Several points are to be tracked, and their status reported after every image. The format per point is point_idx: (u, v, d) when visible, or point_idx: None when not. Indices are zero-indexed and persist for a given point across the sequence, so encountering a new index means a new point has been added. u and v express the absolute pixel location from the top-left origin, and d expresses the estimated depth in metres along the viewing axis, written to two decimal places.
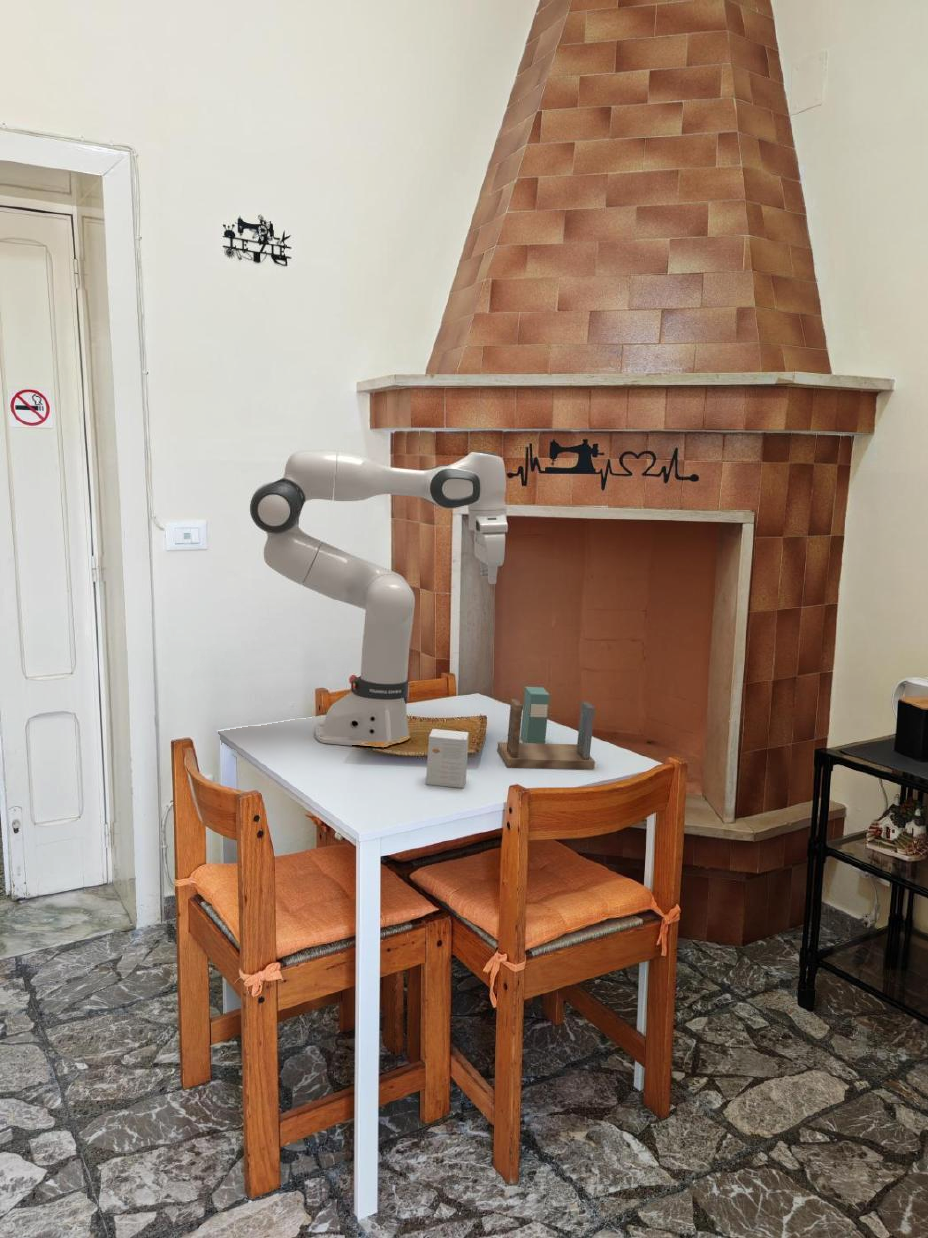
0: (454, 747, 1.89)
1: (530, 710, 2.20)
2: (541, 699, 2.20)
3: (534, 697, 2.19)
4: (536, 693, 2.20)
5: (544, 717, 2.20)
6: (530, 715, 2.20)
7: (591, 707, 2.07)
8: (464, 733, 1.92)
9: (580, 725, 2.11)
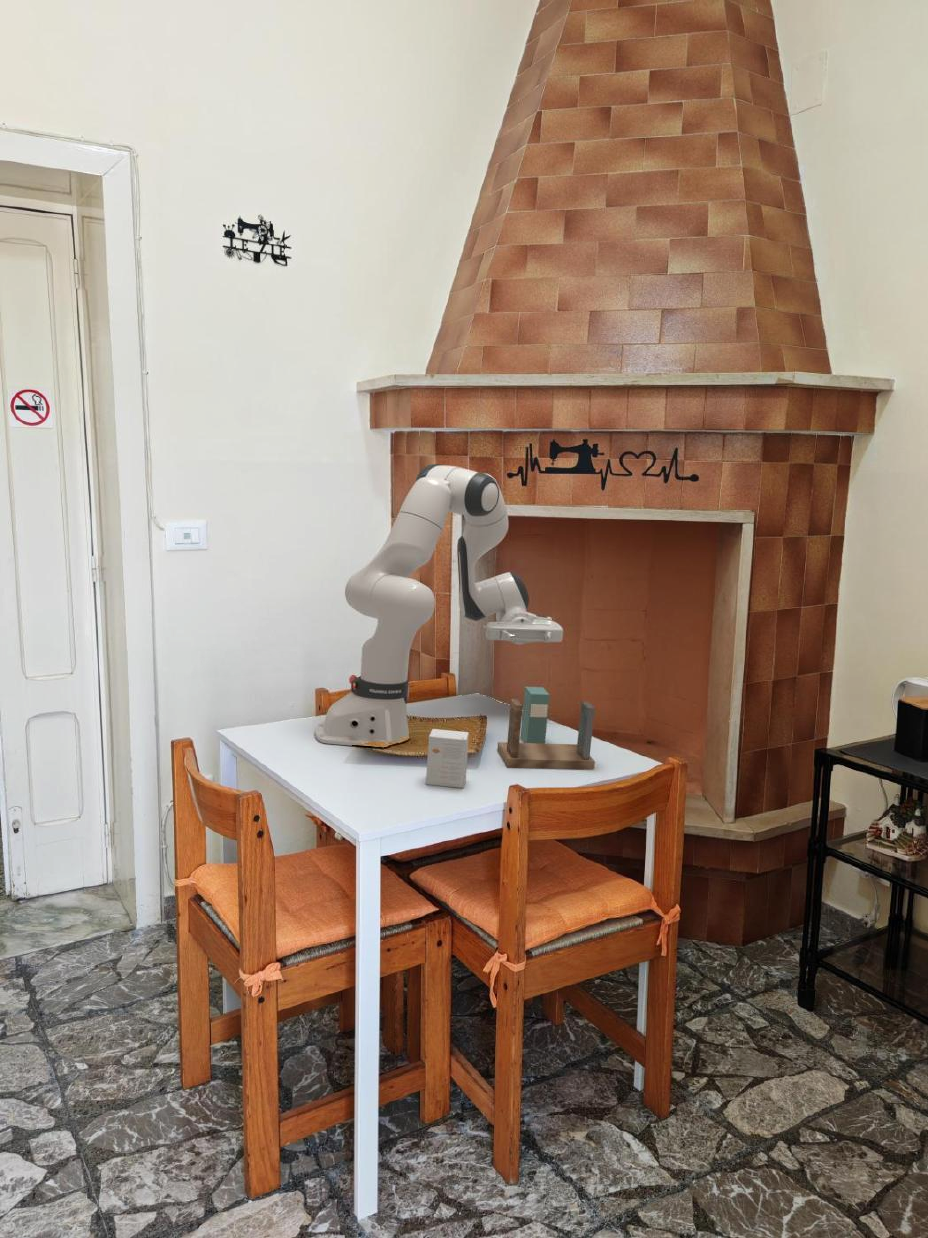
0: (454, 747, 1.89)
1: (530, 710, 2.20)
2: (541, 699, 2.20)
3: (534, 697, 2.19)
4: (536, 693, 2.20)
5: (544, 717, 2.20)
6: (530, 715, 2.20)
7: (591, 707, 2.07)
8: (464, 733, 1.92)
9: (580, 725, 2.11)
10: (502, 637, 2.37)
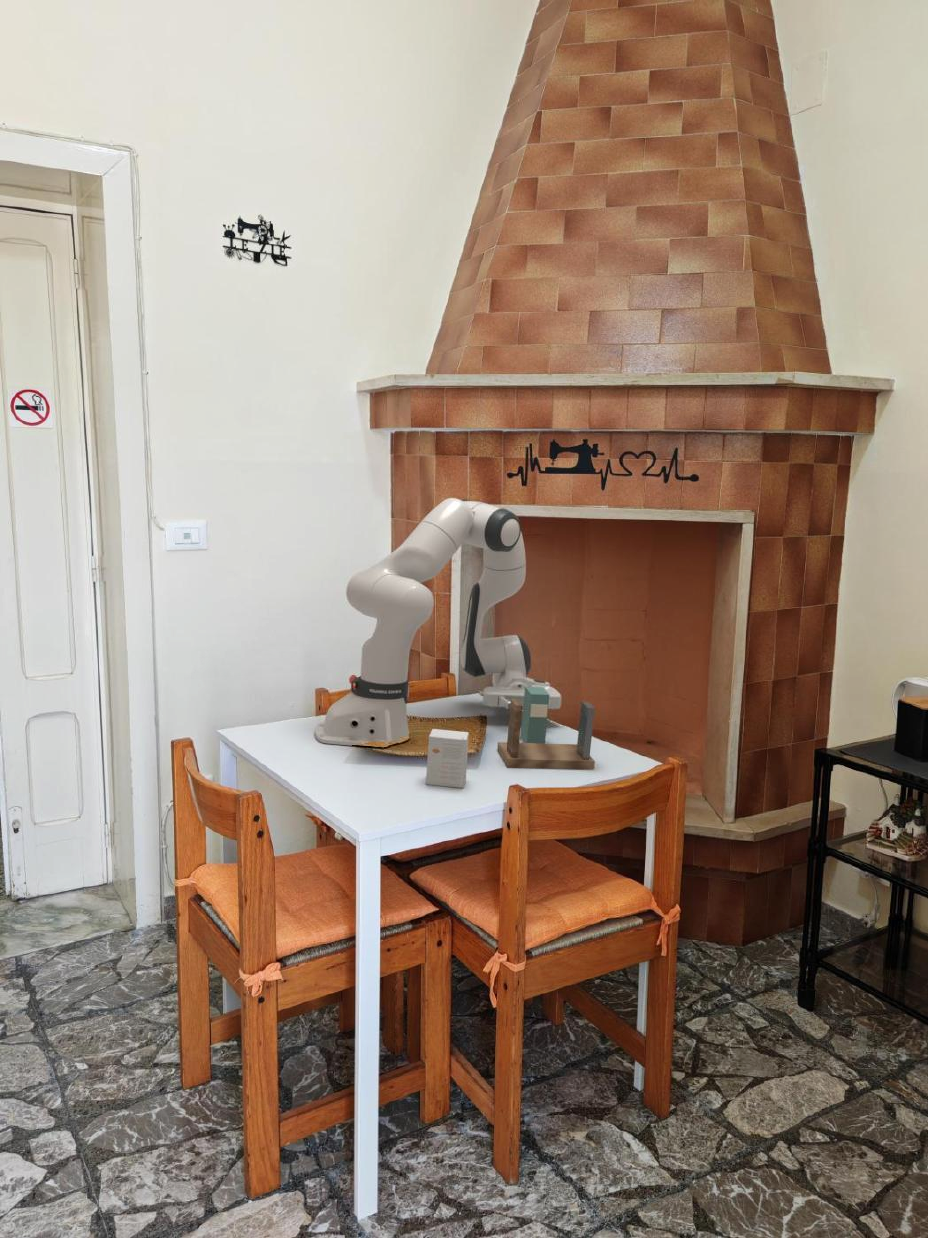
0: (454, 747, 1.89)
1: (530, 710, 2.20)
2: (541, 699, 2.20)
3: (534, 697, 2.19)
4: (536, 693, 2.20)
5: (544, 717, 2.20)
6: (530, 715, 2.20)
7: (591, 707, 2.07)
8: (464, 733, 1.92)
9: (580, 725, 2.11)
10: (500, 704, 2.33)
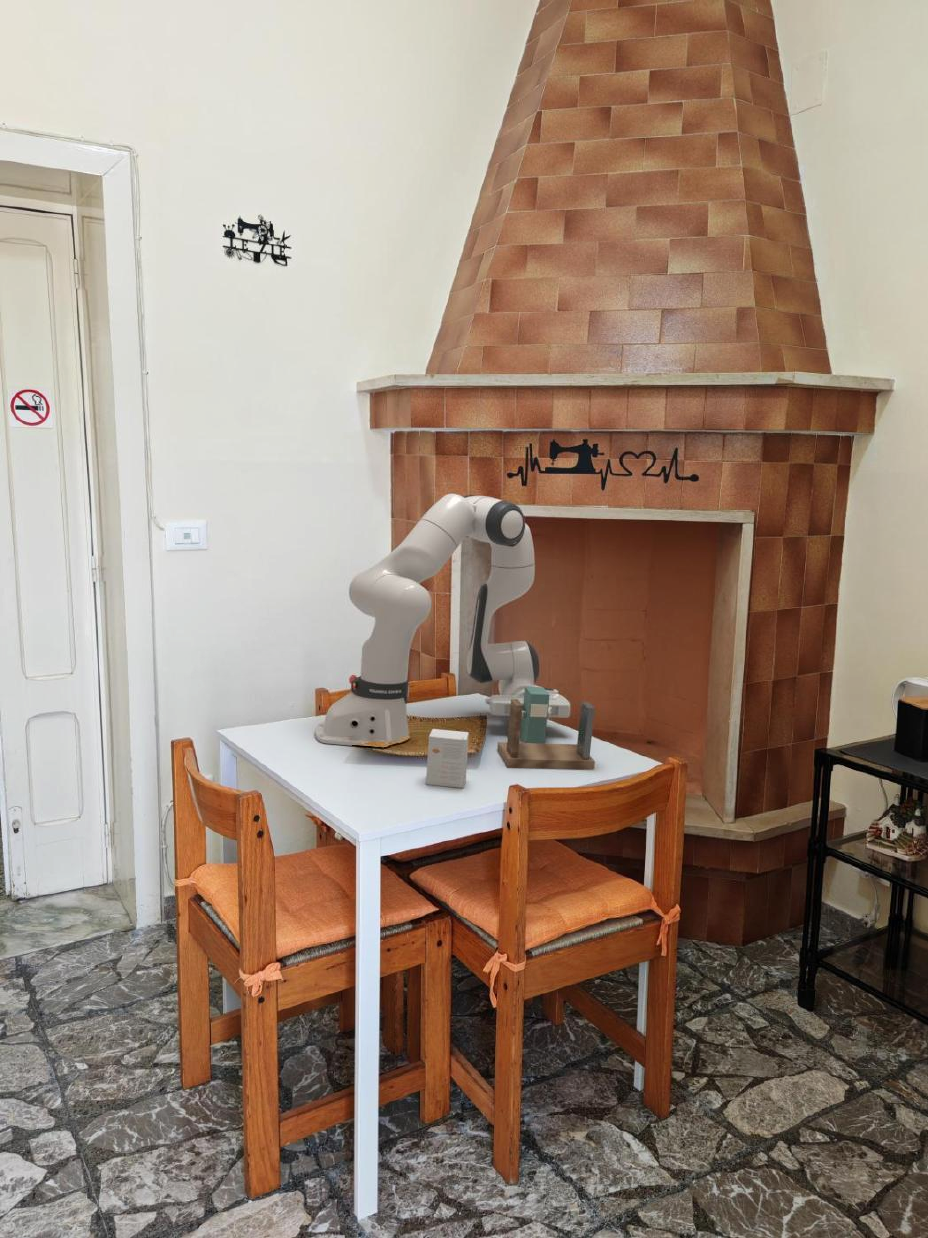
0: (454, 747, 1.89)
1: (530, 710, 2.20)
2: (541, 699, 2.20)
3: (534, 697, 2.19)
4: (536, 693, 2.20)
5: (544, 717, 2.20)
6: (530, 715, 2.20)
7: (591, 707, 2.07)
8: (464, 733, 1.92)
9: (580, 725, 2.11)
10: None
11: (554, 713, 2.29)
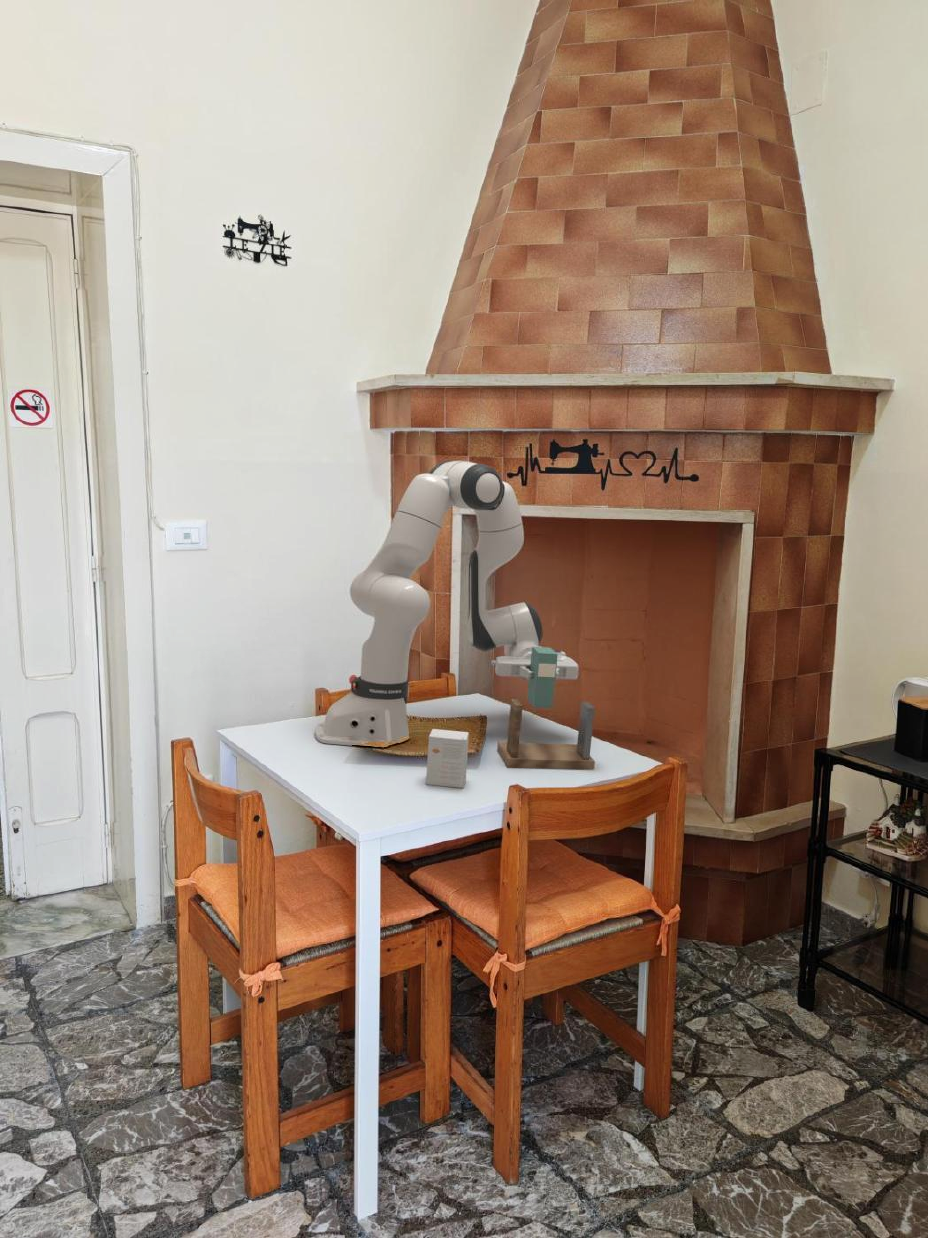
0: (454, 747, 1.89)
1: (538, 670, 2.14)
2: (549, 658, 2.14)
3: (542, 656, 2.14)
4: (544, 652, 2.14)
5: (552, 677, 2.15)
6: (538, 675, 2.14)
7: (591, 707, 2.07)
8: (464, 733, 1.92)
9: (580, 725, 2.11)
10: (521, 674, 2.20)
11: (562, 674, 2.24)
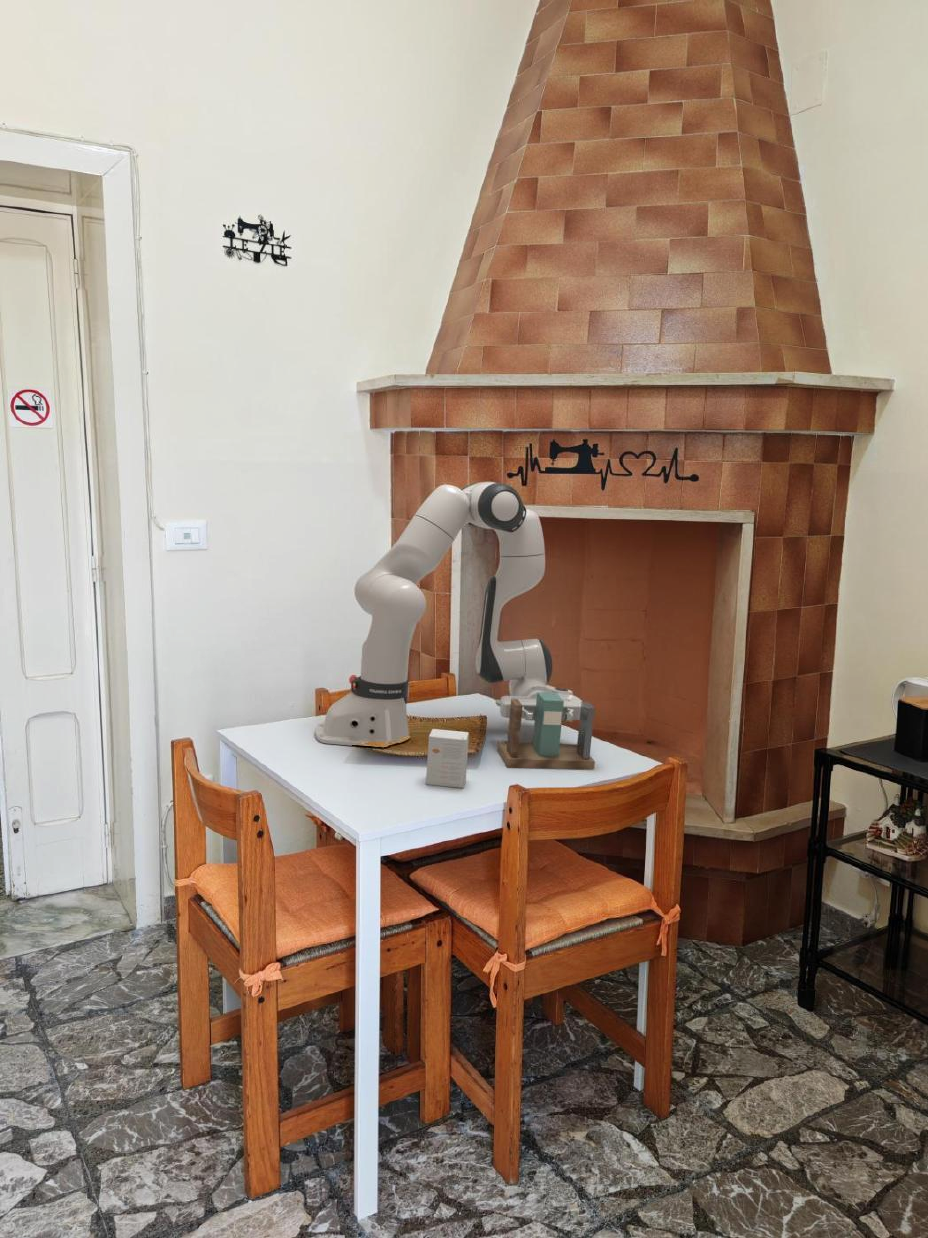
0: (454, 747, 1.89)
1: (543, 717, 2.07)
2: (555, 705, 2.07)
3: (548, 703, 2.06)
4: (549, 699, 2.07)
5: (558, 725, 2.07)
6: (543, 723, 2.07)
7: (591, 707, 2.07)
8: (464, 733, 1.92)
9: (580, 725, 2.11)
10: None
11: None
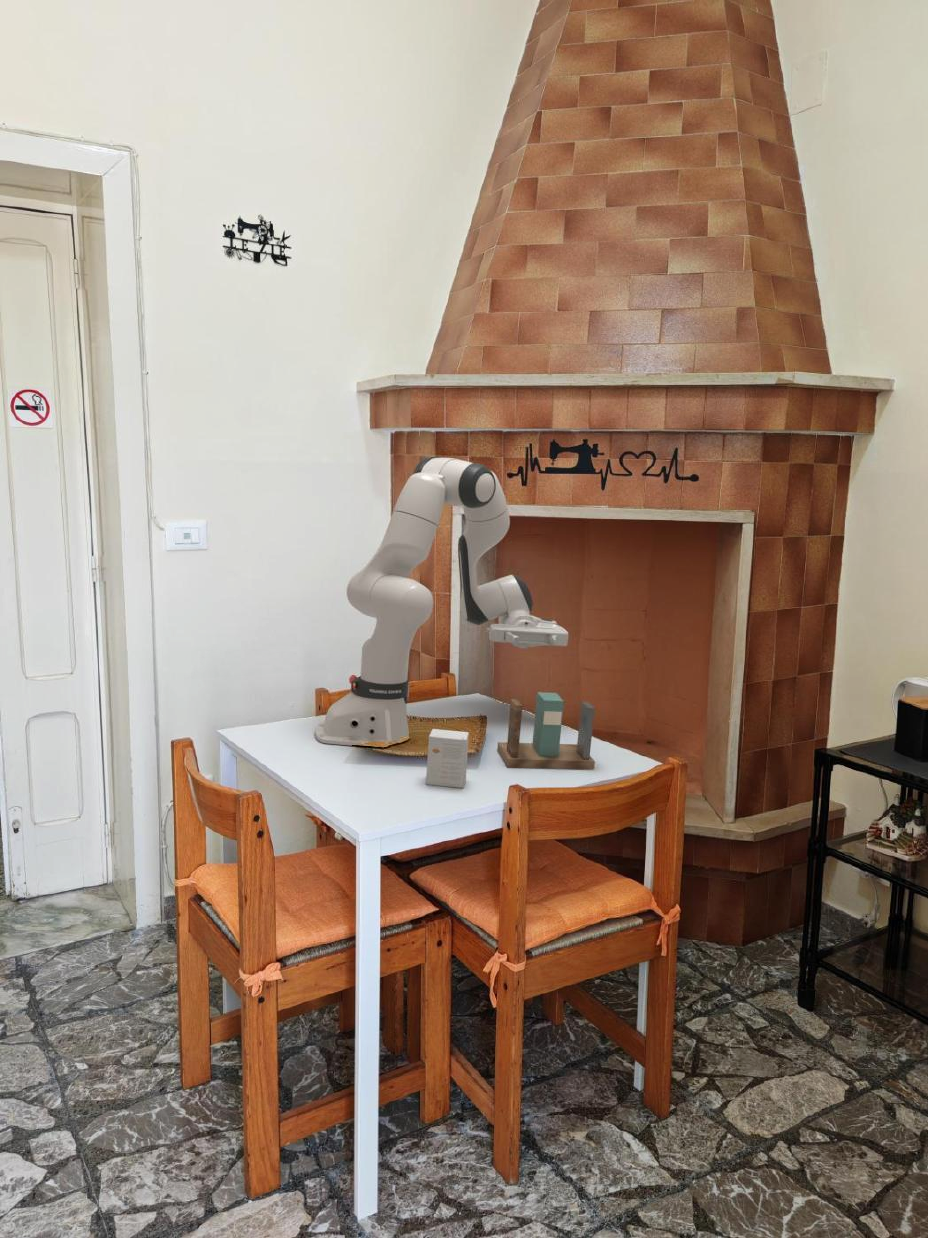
0: (454, 747, 1.89)
1: (543, 717, 2.07)
2: (555, 705, 2.07)
3: (548, 703, 2.06)
4: (549, 699, 2.07)
5: (558, 725, 2.07)
6: (543, 723, 2.07)
7: (591, 707, 2.07)
8: (464, 733, 1.92)
9: (580, 725, 2.11)
10: (506, 639, 2.30)
11: None
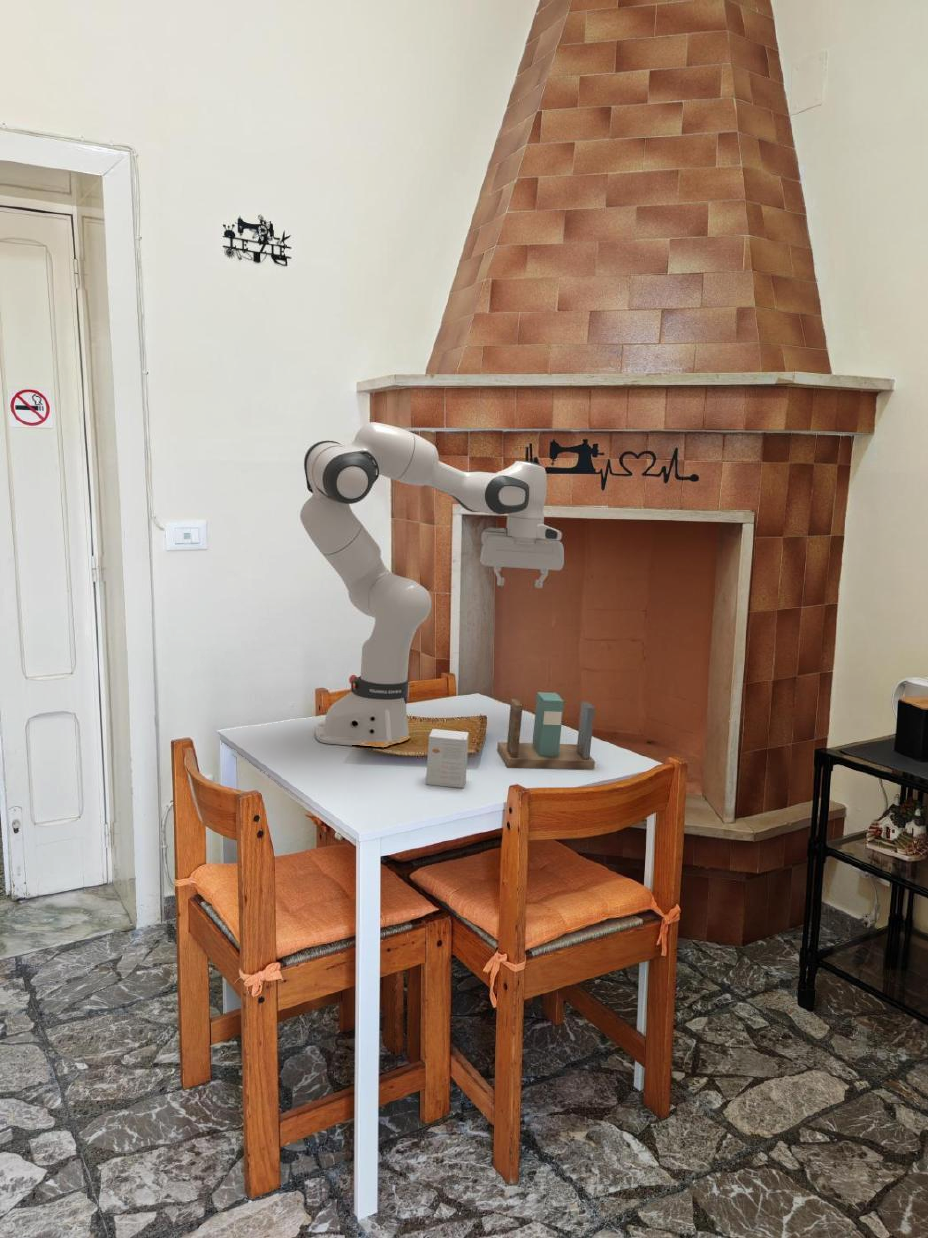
0: (454, 747, 1.89)
1: (543, 717, 2.07)
2: (555, 705, 2.07)
3: (548, 703, 2.06)
4: (549, 699, 2.07)
5: (558, 725, 2.07)
6: (543, 723, 2.07)
7: (591, 707, 2.07)
8: (464, 733, 1.92)
9: (580, 725, 2.11)
10: (494, 571, 2.24)
11: None
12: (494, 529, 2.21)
